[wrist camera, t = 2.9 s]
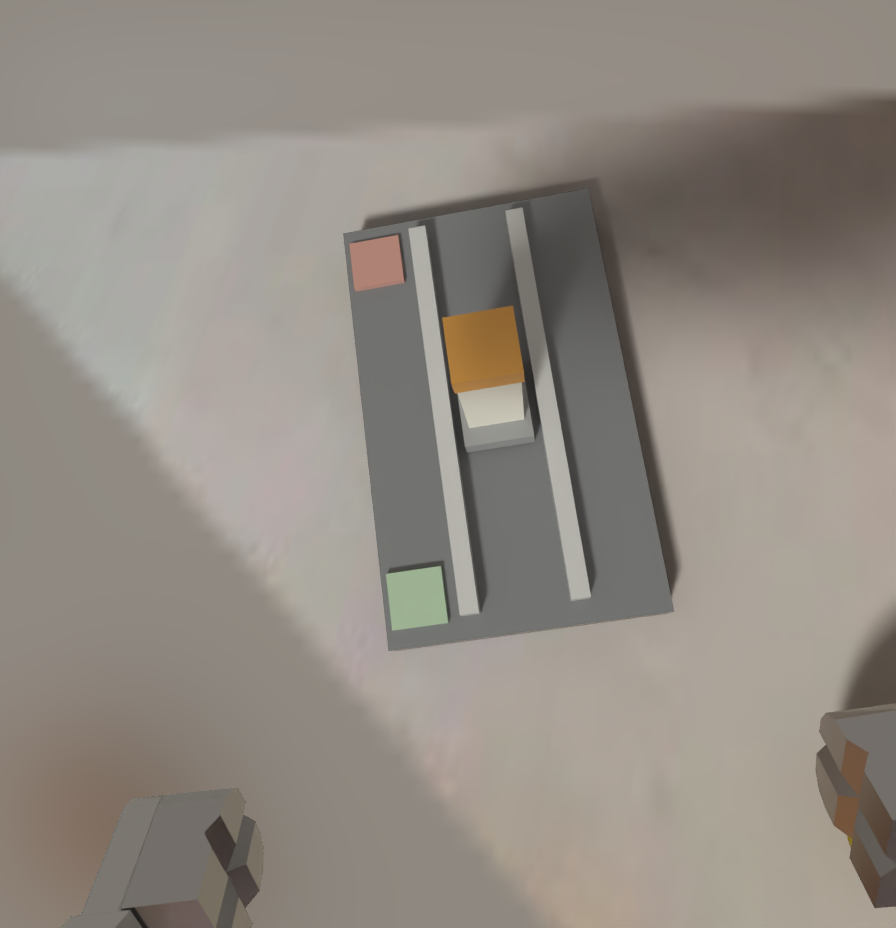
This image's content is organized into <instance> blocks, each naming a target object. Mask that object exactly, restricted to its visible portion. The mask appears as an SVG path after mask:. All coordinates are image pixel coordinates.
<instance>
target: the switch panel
mask: <svg viewBox="0 0 896 928" xmlns="http://www.w3.org/2000/svg"><path fill="white" fill-rule="evenodd" d="M343 235H344V245H345V254H346V263H347V272H348V281H349V290H350V300H351V309H352V318H353V327H354V336H355V346H356V355H357V364H358V373H359V382H360V392H361V401H362V410H363V419H364V428H365V437H366V447H367V456H368V465H369V474H370V483H371V493H372V502H373V511H374V520H375V529H376V539H377V548H378V557H379V566H380V575H381V585H382V594H383V603H384V612H385V621H386V630H387V640H388V649H389V651H398V650H405V649H413V648H420V647H427V646H434V645H442V644H449V643H456V642H463V641H471V640H478V639H485V638H492V637H500V636H507V635H514V634H522V633H529V632H536V631H543V630H551V629H558V628H565V627H572V626H580V625H587V624H594V623H601V622H609V621H616V620H623V619H630V618H638V617H645V616H652V615H660V614H667V613H670V612H674V608H673V603H672V598H671V594H670V589H669V584H668V579H667V574H666V569H665V564H664V559H663V554H662V549H661V544H660V539H659V534H658V529H657V524H656V519H655V514H654V510H653V505H652V500H651V495H650V490H649V485H648V480H647V475H646V470H645V465H644V460H643V455H642V450H641V445H640V440H639V435H638V430H637V426H636V421H635V416H634V411H633V406H632V401H631V396H630V391H629V386H628V381H627V376H626V371H625V366H624V361H623V356H622V351H621V346H620V342H619V337H618V332H617V327H616V322H615V317H614V312H613V307H612V302H611V297H610V292H609V287H608V282H607V277H606V272H605V267H604V262H603V258H602V253H601V248H600V243H599V238H598V233H597V228H596V223H595V218H594V213H593V208H592V203H591V198H590V193H589V188H587V189H581V190H576V191H570V192H565V193H560V194H554V195H549V196H543V197H538V198H533V199H527V200H522V201H516V202H511V203H506V204H500V205H495V206H489V207H484V208H479V209H473V210H468V211H462V212H457V213H452V214H446V215H441V216H435V217H430V218H425V219H419V220H414V221H408V222H403V223H398V224H392V225H387V226H381V227H376V228H371V229H365V230H360V231H354V232H349V233H344V234H343ZM507 306H513V309H514V315H515V321H516V327H517V333H518V339H519V345H520V351H521V357H522V363H523V369H524V377H525V383H526V389H527V395H528V401H529V407H530V413H531V419H532V425H533V431H534V442H531V443H525V444H519V445H513V446H506V447H500V448H494V449H487V450H481V451H475V452H468V453H467V451H466V448H465V444H464V437H463V430H462V423H461V416H460V409H459V402H458V395H457V393H454V390H453V387H452V384H451V377H450V370H449V363H448V356H447V349H446V342H445V334H444V327H443V320H442V318H444V317H450V316H455V315H461V314H467V313H473V312H478V311H484V310H490V309H496V308H501V307H507Z"/></svg>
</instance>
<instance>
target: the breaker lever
mask: <svg viewBox="0 0 896 928" xmlns="http://www.w3.org/2000/svg"><path fill="white" fill-rule="evenodd" d="M442 320H443V327H444V334H445V342H446V349H447V356H448V363H449V370H450V377H451V384H452V387H453V390H454V393H457V395H458V402H459V409H460V416H461V423H462V430H463V437H464V444H465V448H466V451H467V453H468V452H475V451H481V450H487V449H494V448H500V447H506V446H513V445H519V444H525V443H531V442H534V431H533V425H532V419H531V413H530V407H529V401H528V395H527V389H526V383H525V377H524V369H523V363H522V357H521V351H520V345H519V339H518V333H517V327H516V321H515V315H514V309H513V306H507V307H501V308H496V309H490V310H484V311H478V312H473V313H467V314H461V315H455V316H450V317H444V318H442Z"/></svg>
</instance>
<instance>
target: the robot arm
mask: <svg viewBox="0 0 896 928" xmlns="http://www.w3.org/2000/svg"><path fill="white" fill-rule="evenodd" d="M819 732H820V734H821V736H822V738H823V740H824V742H825V744H826V745H825V746H824V747H823V748H822V749H821V750H820V751H819V752H818V753H817V756H816V776H817V781H818V787H819V791H820V794H821V797H822V800H823V803H824V805H825V808H826V810H827V812H828V814H829V816H830V819H831V821H832V823H833V825H834V826H835V827H837V828H838V829H839V830H841V831H842V832H843V833H845V834H846V835H848V836H849V837H850V838H852V844H851V851H850V860H851V862H852V864H853V866H854V868H855V870H856V872H857V874H858V876H859V878H860V880H861V882H862V884H863V886H864V888H865V890H866V892H867V894H868V896H869V898H870V900H871V902H872V904H873V906H874V908H882V907H895V906H896V703H893V704H886V705H879V706H872V707H864V708H857V709H850V710H843V711H836V712H829V713H825V714H824V716H823V717H822V718H821V722H820V730H819ZM245 804H246V801H245V799H244V797H243V796H242V794H241V792H240V790H239V788H230V789H220V790H209V791H199V792H190V793H179V794H169V795H159V796H151V797H142V798H134V799H131V801H130V802H129V803H128V804H127V806H126V807H125V808H124V809H123V811H122V813H121V816H120V818H119V821H118V823H117V826H116V828H115V831H114V833H113V836H112V838H111V841H110V844H109V846H108V848H107V851H106V854H105V856H104V858H103V861H102V864H101V866H100V868H99V871H98V873H97V876H96V879H95V881H94V884H93V886H92V889H91V891H90V894H89V896H88V899H87V901H86V904H85V906H84V909H83V911H82V914H81V915H77V916H71V917H70V918H69V919H68V920H67V921H66V922H65V923H64V924H63V925H62V926H61V927H60V928H252V926H253V923H252V920H251V919H250V916H249V914H248V912H247V910H246V907H247V906H248V904H249V903H250V902H251V901H252V899H253V898H254V897H255V896H256V895H257V893H258V892H259V891H260V886H261V880H262V875H263V863H264V859H263V858H264V853H263V852H264V851H263V850H264V847H263V842H262V837H261V832H260V830H259V828H258V826H257V824H256V822H255V821H254V820H252V819H250V818H249V817H247V816H245V815H243V813H244V809H245Z"/></svg>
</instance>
